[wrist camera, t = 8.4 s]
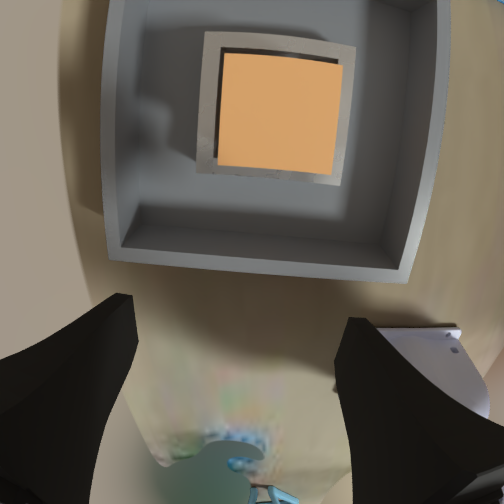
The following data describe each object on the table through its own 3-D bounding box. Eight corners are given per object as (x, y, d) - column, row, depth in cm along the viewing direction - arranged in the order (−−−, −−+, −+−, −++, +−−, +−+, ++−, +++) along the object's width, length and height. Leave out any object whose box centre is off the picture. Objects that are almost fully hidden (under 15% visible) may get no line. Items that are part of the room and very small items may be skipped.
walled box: (417, 8, 13) (449, -8, 9) (384, 251, 20) (406, 283, 16) (144, -20, 13) (118, -43, 9) (134, 231, 20) (108, 259, 16)
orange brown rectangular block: (315, 78, 15) (343, 65, 9) (308, 151, 16) (331, 175, 11) (237, 71, 15) (224, 53, 9) (232, 144, 16) (217, 165, 11)
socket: (345, 53, 14) (356, 47, 12) (331, 177, 17) (340, 186, 15) (211, 39, 14) (204, 31, 12) (202, 165, 17) (195, 173, 15)
